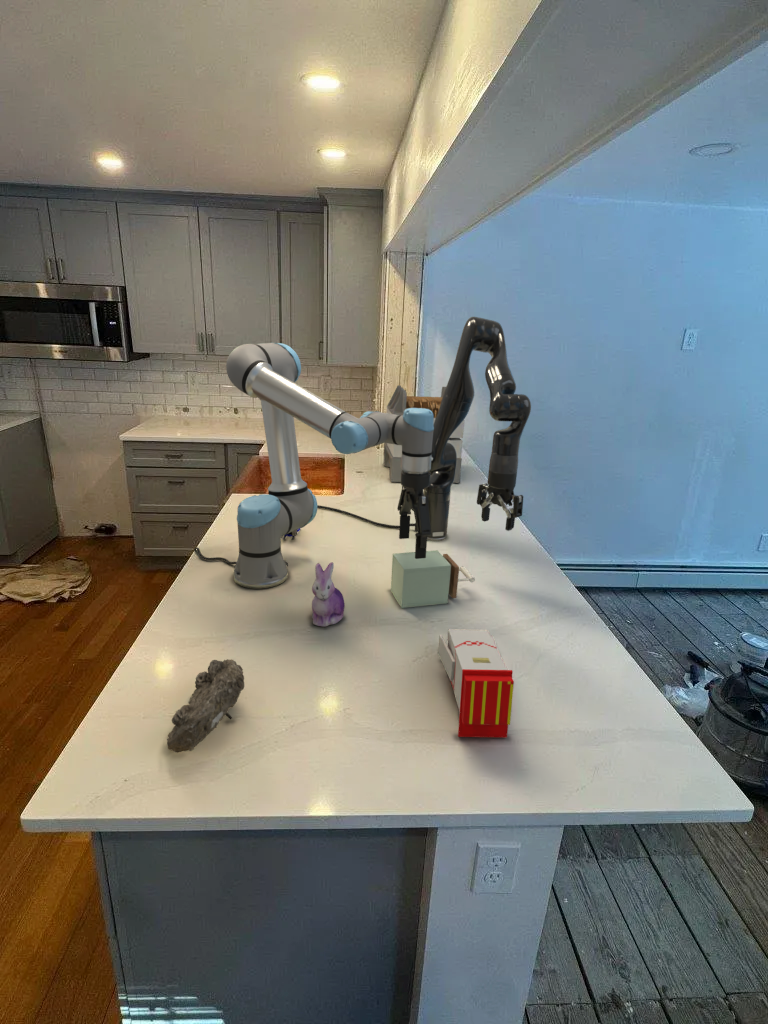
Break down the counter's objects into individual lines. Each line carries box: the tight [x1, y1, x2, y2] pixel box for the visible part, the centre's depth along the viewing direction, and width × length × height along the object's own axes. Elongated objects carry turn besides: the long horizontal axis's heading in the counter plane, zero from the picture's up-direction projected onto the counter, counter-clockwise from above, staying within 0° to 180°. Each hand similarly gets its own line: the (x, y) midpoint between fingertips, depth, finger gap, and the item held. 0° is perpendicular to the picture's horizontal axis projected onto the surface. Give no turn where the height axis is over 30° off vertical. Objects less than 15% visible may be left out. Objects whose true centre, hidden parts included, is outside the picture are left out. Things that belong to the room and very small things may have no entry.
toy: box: [437, 628, 515, 738], centre depth 117 cm, size 12×13×30 cm
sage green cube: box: [390, 549, 451, 609], centre depth 155 cm, size 13×10×11 cm
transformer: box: [383, 384, 465, 484], centre depth 268 cm, size 34×33×41 cm
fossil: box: [166, 658, 245, 754], centre depth 106 cm, size 22×10×15 cm
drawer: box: [442, 553, 476, 599], centre depth 157 cm, size 17×9×9 cm, turn 106°
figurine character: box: [282, 528, 302, 541], centre depth 194 cm, size 7×8×15 cm
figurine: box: [311, 561, 346, 627], centre depth 141 cm, size 9×10×15 cm
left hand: (411, 547), depth 151 cm, fingers open, 13 cm apart
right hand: (496, 525), depth 158 cm, fingers open, 8 cm apart
